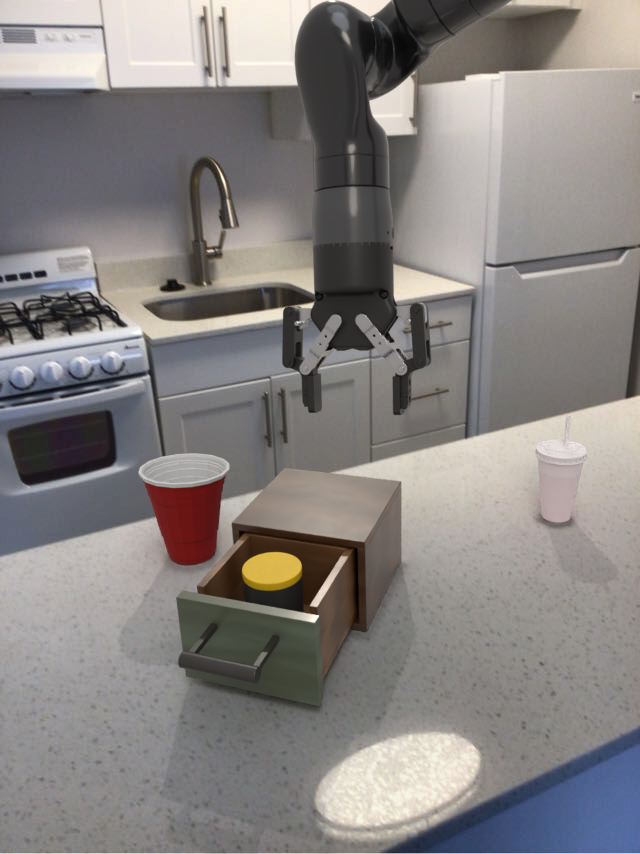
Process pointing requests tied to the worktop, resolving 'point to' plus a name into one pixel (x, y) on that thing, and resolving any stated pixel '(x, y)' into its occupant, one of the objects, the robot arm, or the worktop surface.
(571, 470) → the smoothie
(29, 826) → the worktop surface
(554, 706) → the worktop surface
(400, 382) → the robot arm
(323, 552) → the drawer
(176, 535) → the plastic cup
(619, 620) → the worktop surface
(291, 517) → the cabinet
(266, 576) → the canister
